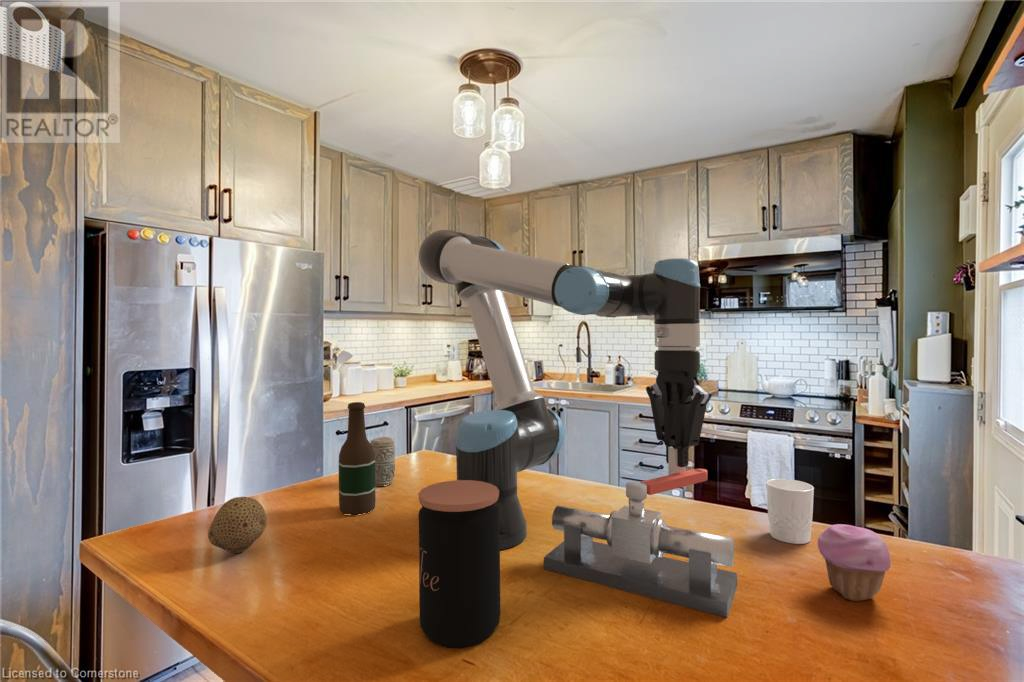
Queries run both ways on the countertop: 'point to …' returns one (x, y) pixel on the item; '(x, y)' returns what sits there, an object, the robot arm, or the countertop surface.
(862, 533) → the cupcake
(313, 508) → the countertop surface
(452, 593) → the coffee jar
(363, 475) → the beer bottle
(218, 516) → the natural sponge
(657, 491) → the valve lever
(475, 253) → the robot arm
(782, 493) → the white cup
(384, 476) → the carving
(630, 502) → the valve stand
